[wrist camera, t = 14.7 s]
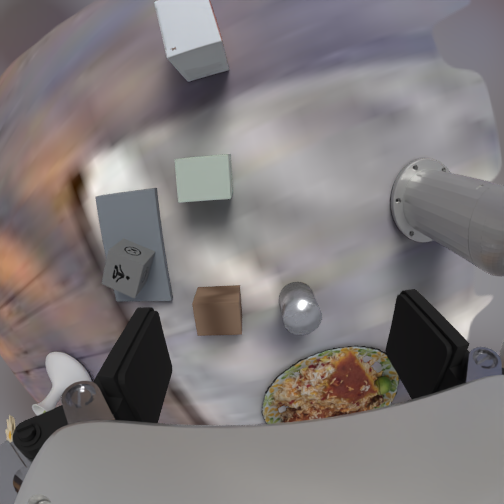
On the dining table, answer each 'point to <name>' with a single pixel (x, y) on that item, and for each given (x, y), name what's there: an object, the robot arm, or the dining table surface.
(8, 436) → the flower in vase
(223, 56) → the small box
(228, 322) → the walnut block
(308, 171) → the dining table surface
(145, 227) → the slate mat
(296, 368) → the rice dish
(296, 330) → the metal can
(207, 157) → the sage block
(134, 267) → the dice cube
